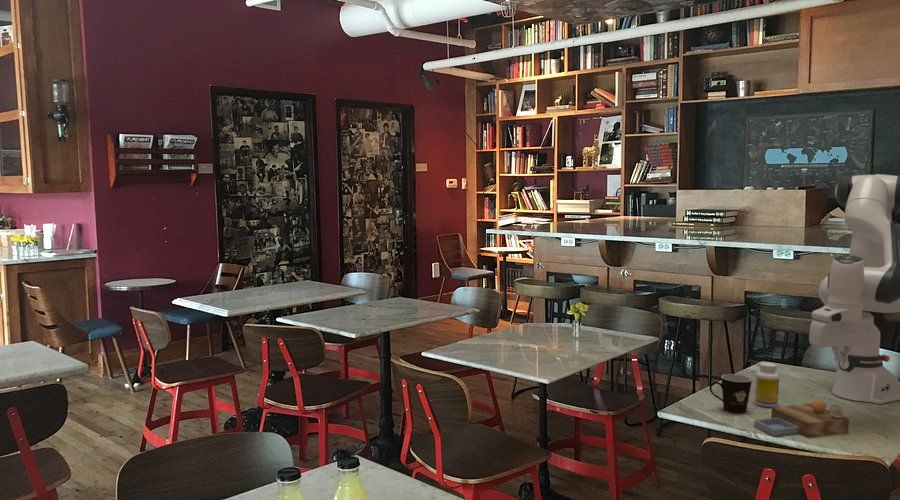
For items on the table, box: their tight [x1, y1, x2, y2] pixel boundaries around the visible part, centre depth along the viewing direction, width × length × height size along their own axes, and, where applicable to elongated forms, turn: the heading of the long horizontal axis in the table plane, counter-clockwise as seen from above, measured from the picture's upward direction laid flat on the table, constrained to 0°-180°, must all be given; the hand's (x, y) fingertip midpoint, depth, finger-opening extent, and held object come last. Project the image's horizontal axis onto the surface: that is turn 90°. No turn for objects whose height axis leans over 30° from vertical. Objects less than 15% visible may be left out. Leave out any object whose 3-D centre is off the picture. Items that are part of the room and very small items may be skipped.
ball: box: [811, 399, 827, 412], centre depth 208 cm, size 4×4×4 cm
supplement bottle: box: [754, 361, 780, 408], centre depth 227 cm, size 7×7×13 cm
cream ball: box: [828, 404, 845, 418], centre depth 203 cm, size 4×4×4 cm
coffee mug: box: [709, 373, 753, 415], centre depth 222 cm, size 12×9×10 cm
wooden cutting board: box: [770, 403, 850, 439], centre depth 207 cm, size 14×14×4 cm
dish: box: [753, 417, 800, 438], centre depth 204 cm, size 8×8×2 cm
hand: (841, 361), depth 208 cm, fingers closed
